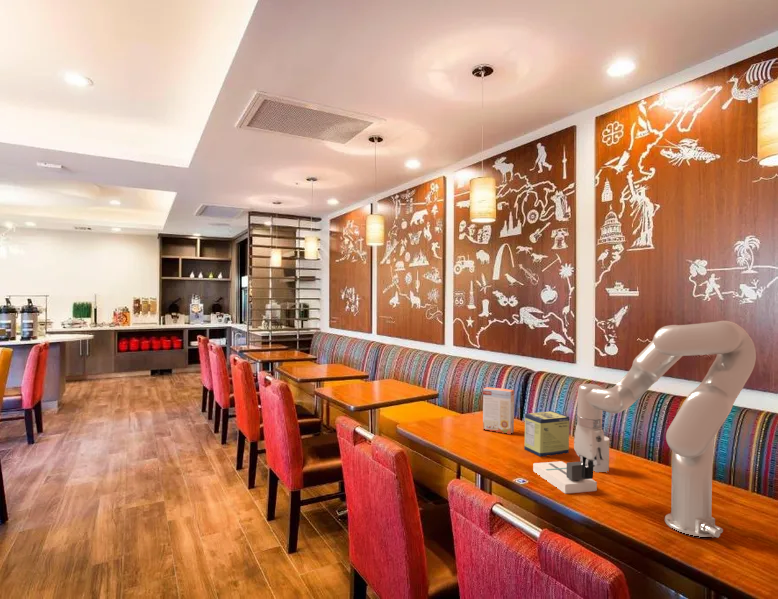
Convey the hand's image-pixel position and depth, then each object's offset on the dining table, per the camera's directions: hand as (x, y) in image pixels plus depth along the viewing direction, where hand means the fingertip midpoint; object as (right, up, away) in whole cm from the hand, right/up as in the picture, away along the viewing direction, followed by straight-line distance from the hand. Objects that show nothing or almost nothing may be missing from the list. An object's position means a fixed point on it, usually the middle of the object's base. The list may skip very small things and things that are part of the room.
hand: (587, 477), depth 148 cm
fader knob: (-1, -3, +6) cm, 7 cm away
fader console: (-3, -6, +13) cm, 15 cm away
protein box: (+2, -7, +45) cm, 46 cm away
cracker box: (-11, -7, +74) cm, 75 cm away
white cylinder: (+15, -7, +25) cm, 30 cm away
